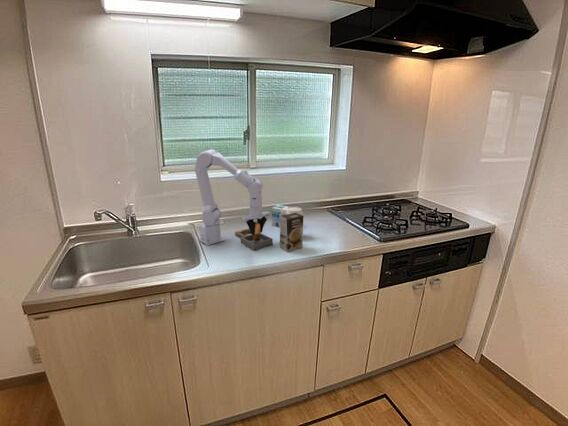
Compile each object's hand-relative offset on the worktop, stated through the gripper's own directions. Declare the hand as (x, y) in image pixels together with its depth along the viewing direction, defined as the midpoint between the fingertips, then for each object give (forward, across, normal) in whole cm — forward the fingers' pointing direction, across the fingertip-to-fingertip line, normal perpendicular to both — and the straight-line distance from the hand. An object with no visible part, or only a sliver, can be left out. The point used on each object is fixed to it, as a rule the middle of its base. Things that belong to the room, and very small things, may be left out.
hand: (256, 233), depth 151 cm
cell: (+3, 0, 0) cm, 3 cm away
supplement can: (+6, +20, -5) cm, 21 cm away
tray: (+6, 0, 0) cm, 6 cm away
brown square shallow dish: (+6, +2, +11) cm, 13 cm away
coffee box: (+6, +10, -14) cm, 18 cm away
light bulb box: (+6, +26, +11) cm, 29 cm away
